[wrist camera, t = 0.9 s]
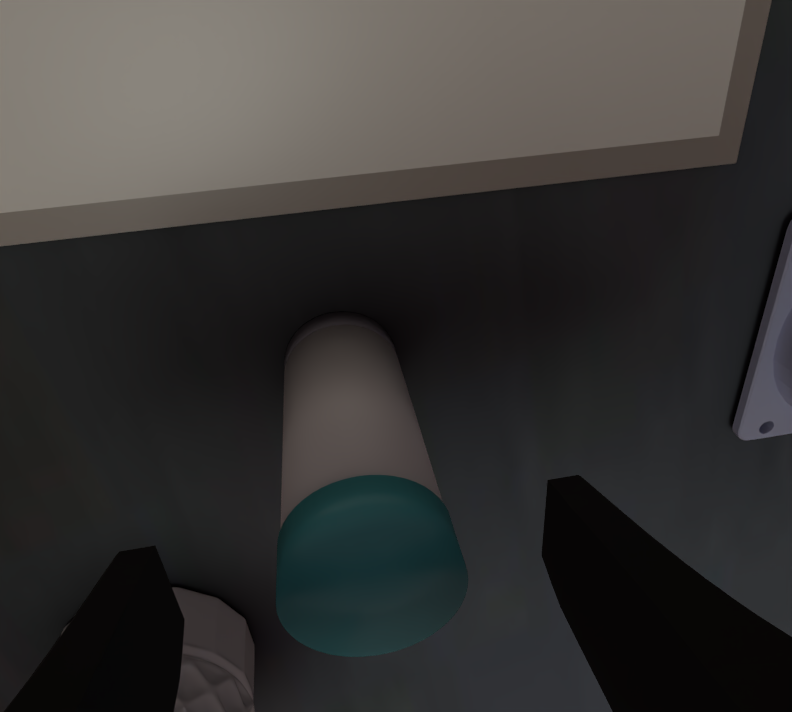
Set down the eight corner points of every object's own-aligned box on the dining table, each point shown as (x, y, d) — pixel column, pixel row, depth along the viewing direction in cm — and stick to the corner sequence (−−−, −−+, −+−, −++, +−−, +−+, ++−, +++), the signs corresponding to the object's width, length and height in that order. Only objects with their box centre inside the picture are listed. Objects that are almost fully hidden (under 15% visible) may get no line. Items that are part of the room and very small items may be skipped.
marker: (393, 302, 16) (467, 510, 9) (401, 400, 18) (468, 638, 11) (273, 318, 16) (258, 544, 9) (292, 416, 18) (292, 671, 11)
